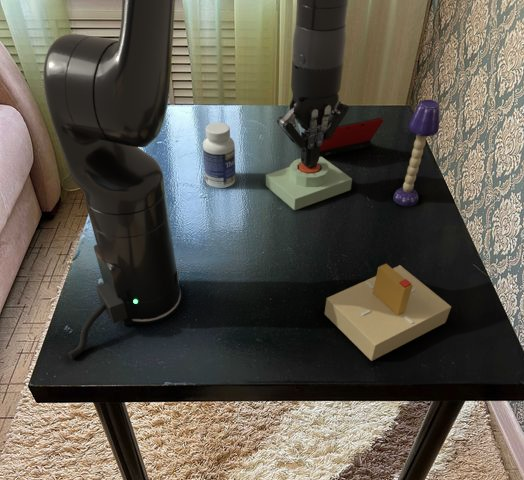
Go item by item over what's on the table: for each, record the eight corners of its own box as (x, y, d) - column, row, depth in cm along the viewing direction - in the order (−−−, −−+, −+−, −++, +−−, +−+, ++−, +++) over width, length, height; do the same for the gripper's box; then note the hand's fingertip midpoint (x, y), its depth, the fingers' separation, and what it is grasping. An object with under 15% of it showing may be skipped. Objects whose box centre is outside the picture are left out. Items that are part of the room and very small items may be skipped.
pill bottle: (231, 190, 94) (229, 137, 86) (202, 187, 94) (197, 133, 87) (238, 174, 97) (237, 122, 90) (210, 171, 98) (206, 118, 91)
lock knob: (372, 293, 72) (378, 265, 68) (380, 289, 72) (386, 261, 69) (397, 315, 69) (405, 287, 66) (405, 311, 70) (413, 283, 66)
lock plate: (371, 361, 68) (375, 344, 66) (324, 314, 73) (326, 297, 71) (445, 322, 73) (452, 305, 70) (395, 281, 78) (400, 264, 76)
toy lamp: (425, 203, 91) (451, 105, 79) (403, 211, 90) (427, 112, 77) (407, 190, 94) (430, 93, 82) (386, 197, 93) (406, 99, 80)
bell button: (306, 183, 91) (307, 173, 90) (294, 173, 93) (295, 164, 92) (323, 177, 92) (324, 167, 91) (311, 167, 94) (312, 158, 93)
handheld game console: (351, 130, 109) (356, 93, 103) (379, 155, 102) (386, 117, 97) (295, 141, 106) (297, 103, 100) (320, 168, 99) (323, 129, 93)
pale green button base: (294, 210, 90) (295, 189, 87) (265, 185, 95) (265, 164, 92) (350, 190, 94) (353, 169, 91) (320, 167, 99) (322, 146, 96)
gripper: (338, 40, 83) (327, 146, 96) (266, 57, 78) (264, 166, 91) (369, 56, 79) (353, 164, 92) (295, 75, 74) (289, 187, 87)
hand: (309, 165), depth 91 cm, fingers closed
